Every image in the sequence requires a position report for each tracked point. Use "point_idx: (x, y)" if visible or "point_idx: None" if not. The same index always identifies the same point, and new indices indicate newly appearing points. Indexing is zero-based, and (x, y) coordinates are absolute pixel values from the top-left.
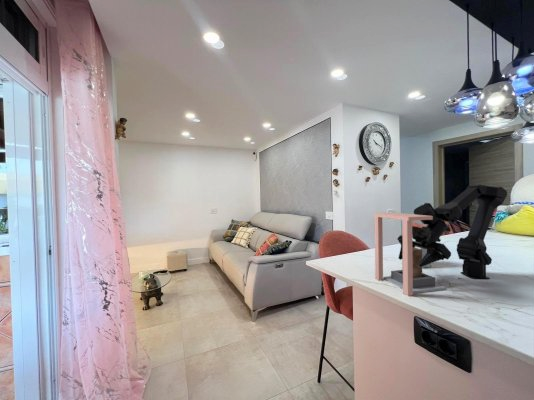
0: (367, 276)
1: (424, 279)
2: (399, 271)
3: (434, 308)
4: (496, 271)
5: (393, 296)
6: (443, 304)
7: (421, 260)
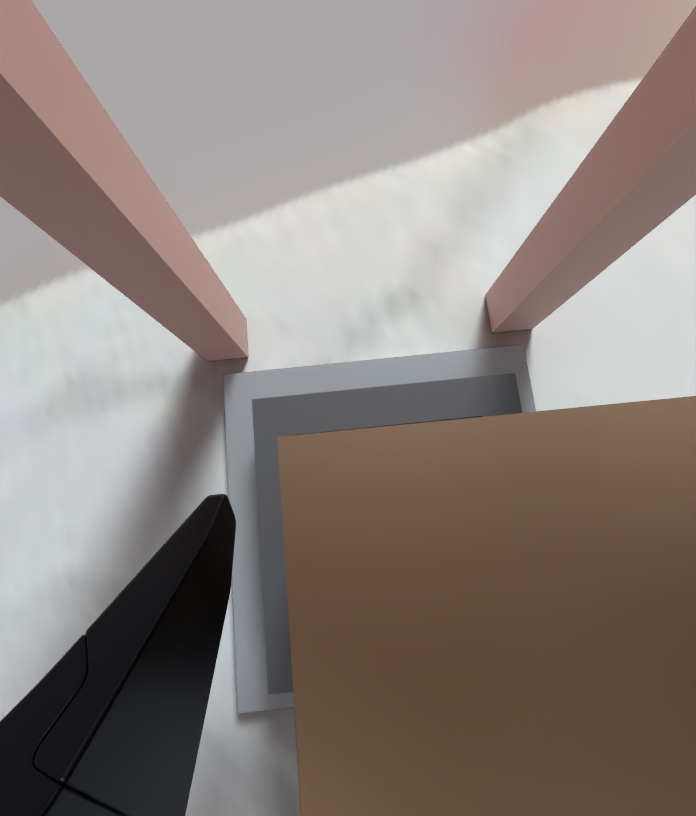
0: None
1: (261, 542)
2: None
3: (36, 360)
4: None
5: (223, 234)
6: (58, 458)
7: (188, 557)
